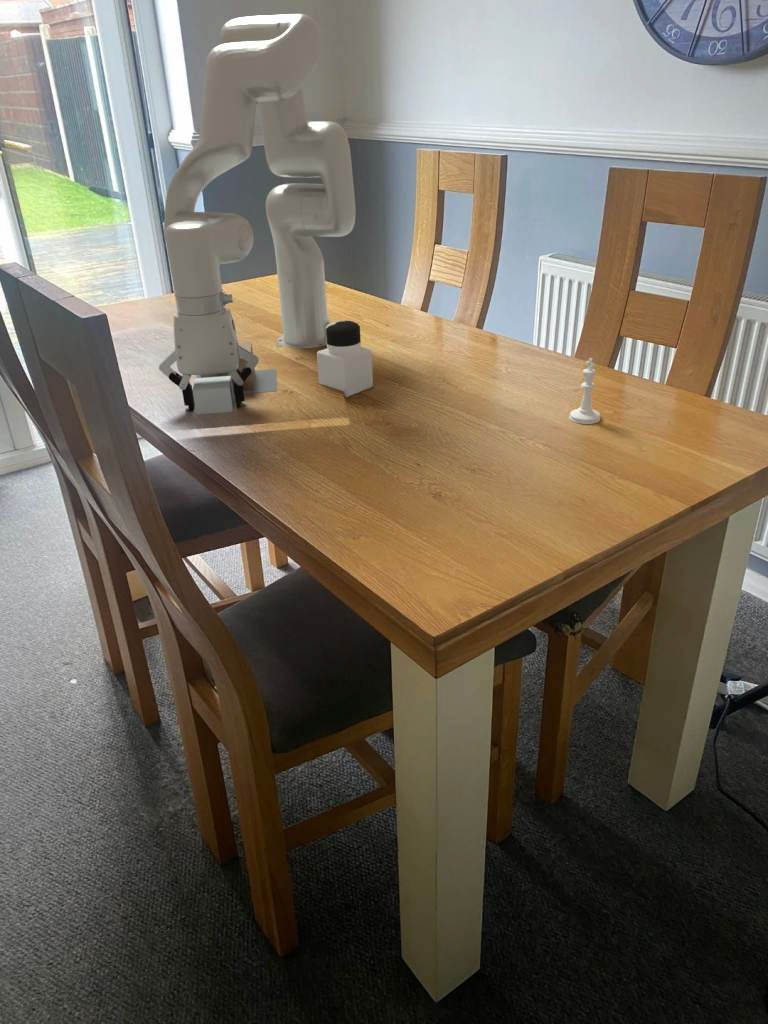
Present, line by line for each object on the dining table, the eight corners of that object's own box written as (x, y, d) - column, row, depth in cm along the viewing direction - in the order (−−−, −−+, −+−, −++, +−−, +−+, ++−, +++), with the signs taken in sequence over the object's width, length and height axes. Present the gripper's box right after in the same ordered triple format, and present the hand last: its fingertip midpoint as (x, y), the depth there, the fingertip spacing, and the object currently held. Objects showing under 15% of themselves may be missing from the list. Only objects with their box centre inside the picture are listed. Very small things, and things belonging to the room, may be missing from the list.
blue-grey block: (234, 405, 138) (230, 375, 135) (233, 418, 133) (229, 387, 130) (200, 408, 138) (195, 378, 135) (197, 421, 132) (192, 390, 130)
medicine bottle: (374, 387, 143) (371, 322, 138) (346, 398, 139) (342, 331, 133) (346, 378, 148) (342, 315, 142) (318, 389, 143) (313, 324, 137)
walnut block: (255, 373, 149) (251, 342, 146) (254, 389, 141) (250, 357, 138) (206, 376, 148) (202, 345, 145) (203, 393, 140) (198, 361, 137)
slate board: (276, 374, 151) (276, 368, 150) (277, 397, 140) (276, 391, 140) (197, 380, 149) (196, 374, 149) (192, 404, 139) (191, 397, 138)
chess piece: (582, 426, 125) (588, 366, 120) (562, 416, 129) (567, 357, 124) (606, 420, 127) (613, 360, 122) (586, 410, 131) (592, 351, 126)
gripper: (255, 294, 130) (266, 395, 139) (147, 301, 128) (166, 403, 137) (254, 306, 123) (266, 411, 132) (141, 313, 122) (161, 419, 131)
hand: (215, 406), depth 135 cm, fingers open, 7 cm apart
